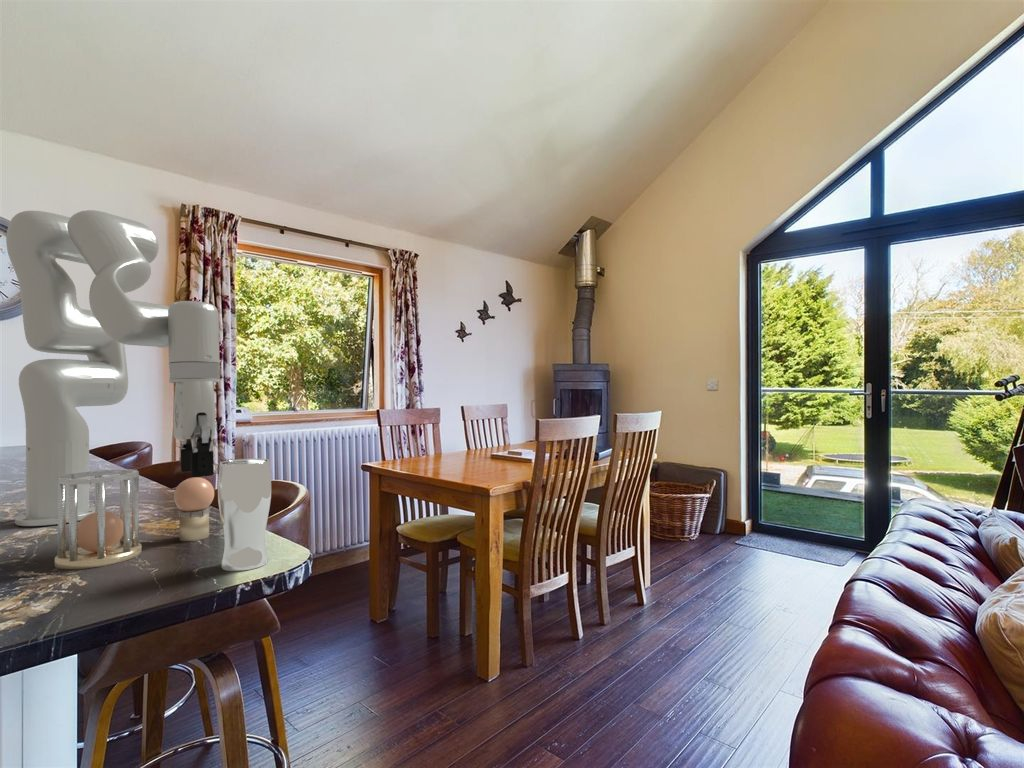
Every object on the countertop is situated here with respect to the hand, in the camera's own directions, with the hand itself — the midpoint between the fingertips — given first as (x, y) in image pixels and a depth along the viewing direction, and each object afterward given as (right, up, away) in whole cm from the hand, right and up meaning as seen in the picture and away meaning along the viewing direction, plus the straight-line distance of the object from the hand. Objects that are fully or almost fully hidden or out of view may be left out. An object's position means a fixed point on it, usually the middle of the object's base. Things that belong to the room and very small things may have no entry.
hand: (196, 473), depth 91 cm
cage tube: (-9, -11, -11) cm, 17 cm away
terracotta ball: (-1, -4, 0) cm, 4 cm away
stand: (-1, -11, 0) cm, 11 cm away
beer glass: (+15, -11, -14) cm, 24 cm away
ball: (-9, -7, -10) cm, 15 cm away
